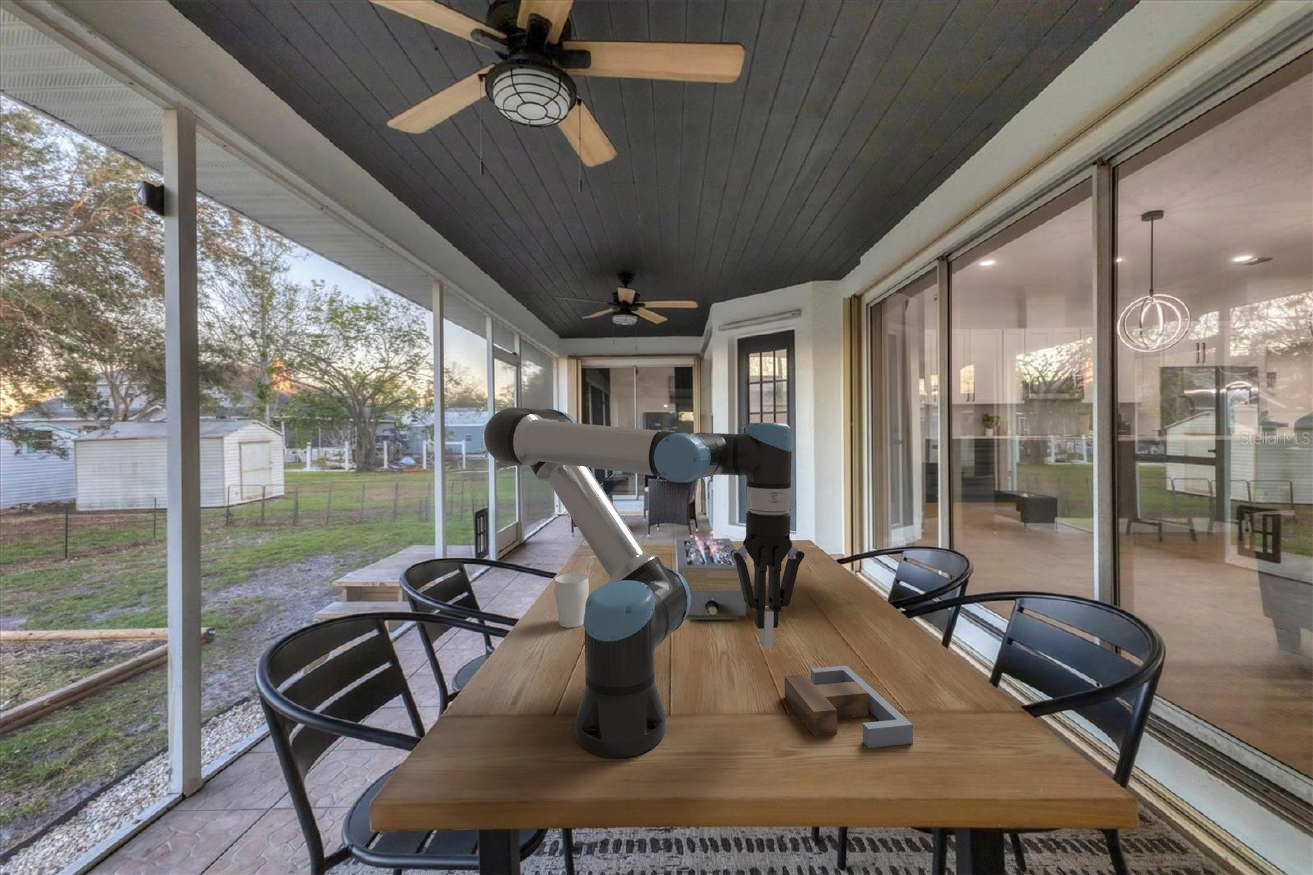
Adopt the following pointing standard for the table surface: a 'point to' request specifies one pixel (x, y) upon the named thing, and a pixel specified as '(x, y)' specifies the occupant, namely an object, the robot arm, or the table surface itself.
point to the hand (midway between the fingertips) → (766, 645)
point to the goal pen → (890, 723)
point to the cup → (571, 599)
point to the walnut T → (825, 702)
